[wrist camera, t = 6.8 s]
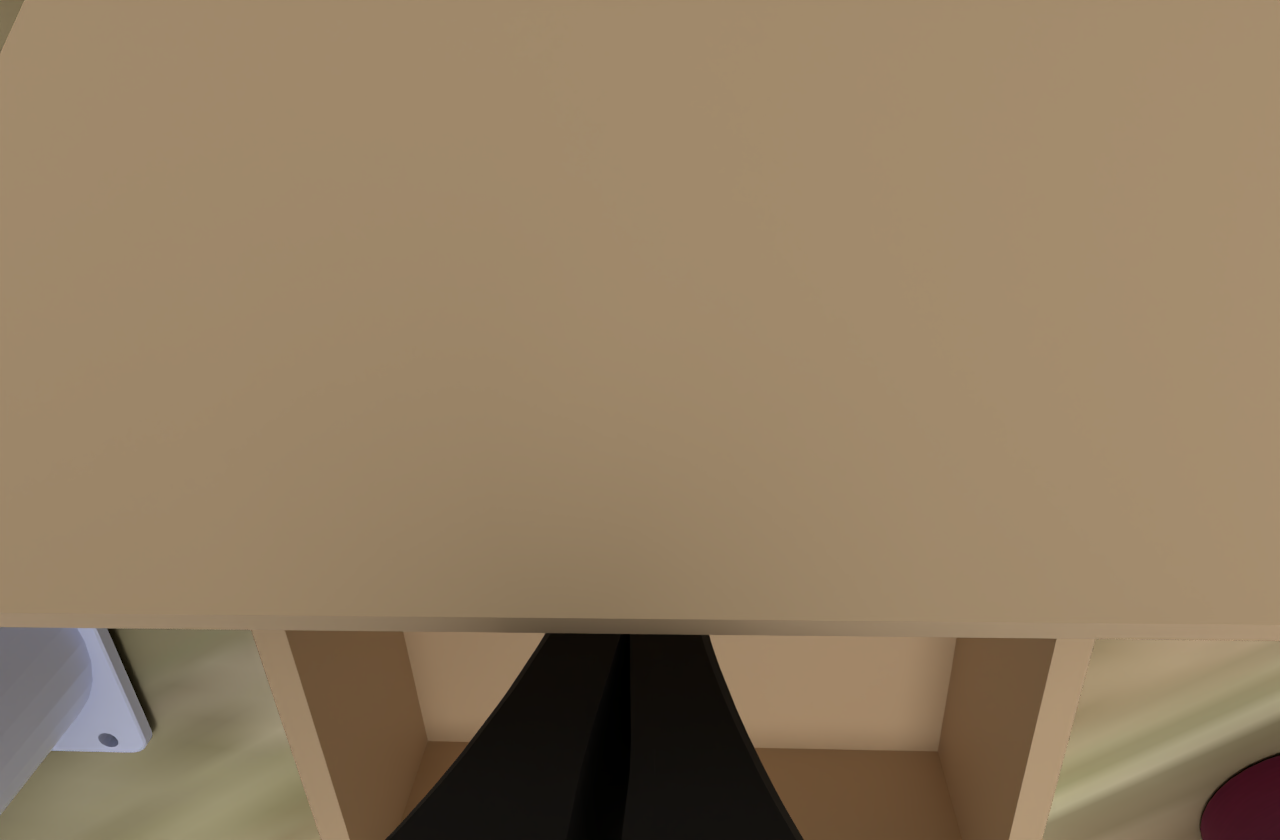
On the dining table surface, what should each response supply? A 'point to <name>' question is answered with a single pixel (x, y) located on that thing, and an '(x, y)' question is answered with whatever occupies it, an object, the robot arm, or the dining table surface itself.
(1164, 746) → the dining table surface
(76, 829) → the dining table surface
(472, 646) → the carton
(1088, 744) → the dining table surface
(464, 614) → the flap
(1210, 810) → the cup
